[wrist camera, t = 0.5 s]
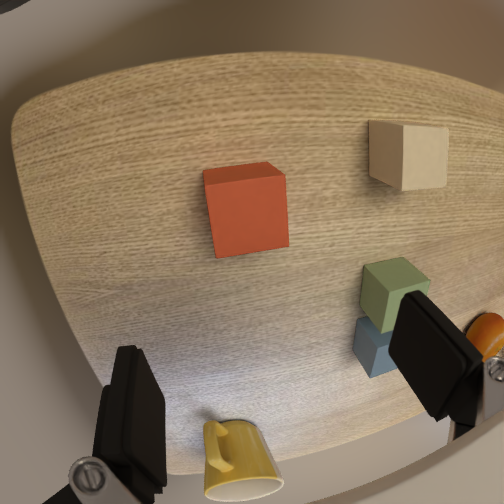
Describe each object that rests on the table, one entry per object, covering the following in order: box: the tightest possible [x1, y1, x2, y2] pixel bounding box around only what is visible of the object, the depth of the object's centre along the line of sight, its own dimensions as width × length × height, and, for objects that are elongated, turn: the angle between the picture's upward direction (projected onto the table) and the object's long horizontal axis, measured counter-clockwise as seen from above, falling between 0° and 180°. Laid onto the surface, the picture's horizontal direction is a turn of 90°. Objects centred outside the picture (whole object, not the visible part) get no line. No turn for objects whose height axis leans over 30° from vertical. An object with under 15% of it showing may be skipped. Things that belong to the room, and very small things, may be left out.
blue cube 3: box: [353, 316, 398, 378], centre depth 31 cm, size 5×5×5 cm
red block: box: [203, 162, 289, 258], centre depth 21 cm, size 5×5×5 cm
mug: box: [203, 420, 284, 502], centre depth 33 cm, size 14×10×10 cm
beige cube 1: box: [368, 120, 449, 191], centre depth 22 cm, size 5×5×5 cm
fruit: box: [466, 313, 504, 363], centre depth 37 cm, size 8×8×8 cm
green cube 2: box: [360, 257, 430, 334], centre depth 28 cm, size 5×5×5 cm
